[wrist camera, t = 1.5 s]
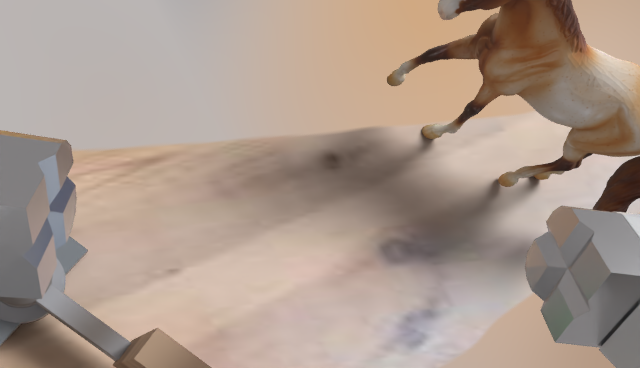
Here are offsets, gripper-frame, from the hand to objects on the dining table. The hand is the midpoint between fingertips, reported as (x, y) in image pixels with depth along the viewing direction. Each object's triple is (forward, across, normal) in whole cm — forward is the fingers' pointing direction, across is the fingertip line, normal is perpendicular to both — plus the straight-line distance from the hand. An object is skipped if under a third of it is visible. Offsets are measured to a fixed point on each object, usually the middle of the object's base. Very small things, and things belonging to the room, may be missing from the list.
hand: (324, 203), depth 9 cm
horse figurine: (+36, -22, +25) cm, 49 cm away
